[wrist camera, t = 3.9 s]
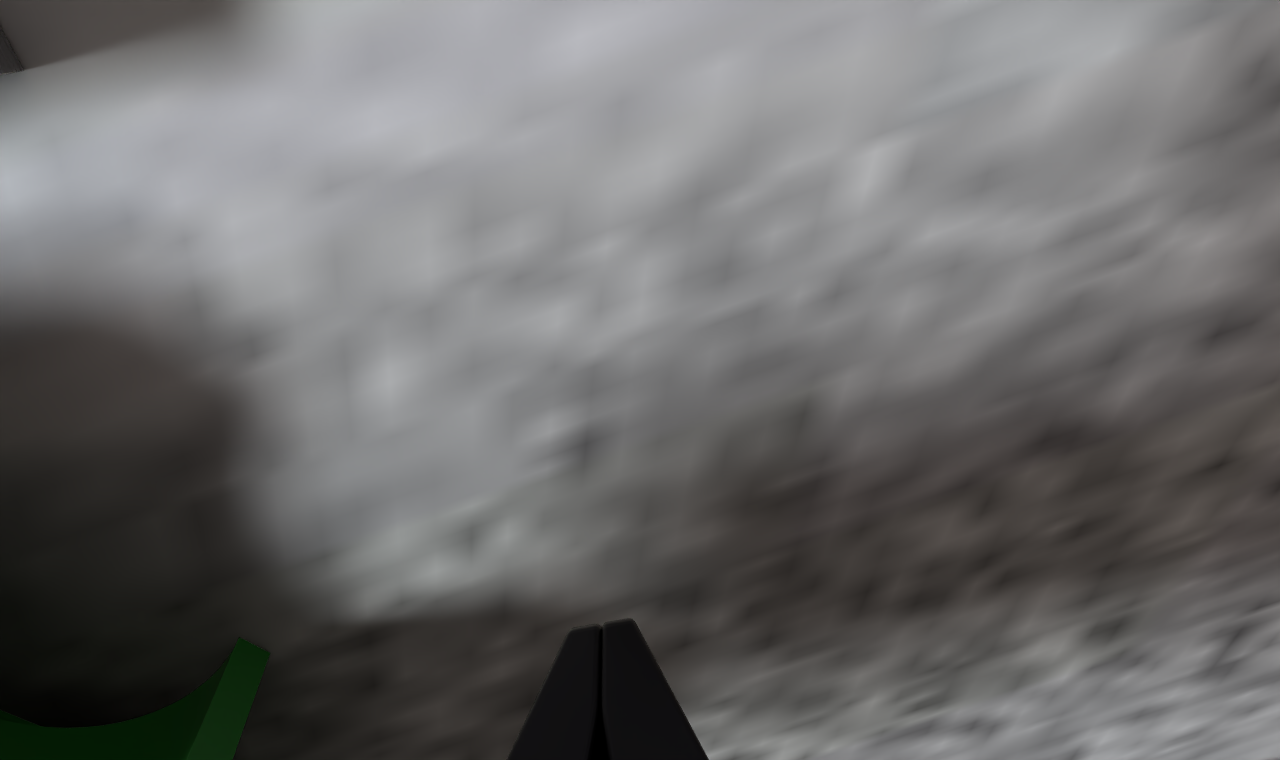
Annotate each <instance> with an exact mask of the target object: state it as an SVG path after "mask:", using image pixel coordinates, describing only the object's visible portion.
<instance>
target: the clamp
mask: <svg viewBox="0 0 1280 760" xmlns="http://www.w3.org/2000/svg"><path fill="white" fill-rule="evenodd" d="M269 655H270V653H269V652H267V651H265V650H264V649H262V648H260V647H258V646H256V645H254V644H252V643H250V642H248V641H246V640H244V639H242V638H240V637H239V638H238V641H237V643H236V645H235V647H234V649H233V650H232V652H231V653H230V655H229V656H228V658H227V659H226V660H225V662H224V663H223V664H222V666H221V667H220V668H219V669H218V670H217V671H216V672H215V673H214V674H213V675H212V676H211V677H210V678H209V679H208V680H207V681H206V682H205V683H203V684H202V685H201V686H200V687H198V688H197V689H196V690H194V691H193V692H191V693H190V694H188V695H187V696H185V697H184V698H182V699H180V700H178V701H177V702H175V703H173V704H171V705H169V706H167V707H165V708H162V709H160V710H158V711H155V712H153V713H150V714H147V715H144V716H141V717H138V718H135V719H131V720H127V721H123V722H119V723H113V724H107V725H101V726H91V727H75V728H58V727H42V726H39V725H36V724H34V723H31V722H29V721H27V720H24V719H22V718H19V717H17V716H14V715H12V714H9V713H7V712H4V711H2V710H0V760H233V757H234V754H235V751H236V749H237V746H238V743H239V740H240V737H241V734H242V732H243V729H244V726H245V723H246V720H247V717H248V715H249V712H250V709H251V706H252V703H253V701H254V698H255V695H256V692H257V689H258V686H259V684H260V681H261V678H262V675H263V672H264V669H265V667H266V664H267V661H268V658H269Z"/></svg>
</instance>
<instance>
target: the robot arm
mask: <svg viewBox="0 0 1280 760" xmlns="http://www.w3.org/2000/svg"><path fill="white" fill-rule="evenodd" d="M507 760H709V759H708V757H707V755H706V754H705V752H704V750H703V748H702V746H701V744H700V742H699V740H698V739H697V737H696V735H695V733H694V731H693V729H692V727H691V725H690V724H689V722H688V720H687V718H686V716H685V714H684V712H683V710H682V709H681V707H680V705H679V703H678V701H677V699H676V697H675V695H674V694H673V692H672V690H671V688H670V686H669V684H668V682H667V680H666V679H665V677H664V675H663V673H662V671H661V669H660V667H659V665H658V664H657V662H656V660H655V658H654V656H653V654H652V652H651V650H650V649H649V647H648V645H647V643H646V641H645V639H644V637H643V636H642V634H641V632H640V630H639V628H638V626H637V624H636V623H635V621H634V620H633V619H631V618H627V619H621V620H615V621H610V622H606V623H605V624H604V625H603V627H601V625H599V624H592V625H586V626H581V627H575V628H572V629H571V630H570V631H569V632H568V634H567V636H566V637H565V640H564V642H563V644H562V646H561V648H560V650H559V652H558V654H557V656H556V658H555V660H554V662H553V664H552V667H551V669H550V671H549V673H548V675H547V677H546V679H545V681H544V683H543V685H542V687H541V689H540V691H539V694H538V696H537V698H536V700H535V702H534V704H533V706H532V708H531V710H530V712H529V714H528V716H527V718H526V720H525V723H524V725H523V727H522V729H521V731H520V733H519V735H518V737H517V739H516V741H515V743H514V745H513V747H512V750H511V752H510V754H509V756H508V758H507Z"/></svg>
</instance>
